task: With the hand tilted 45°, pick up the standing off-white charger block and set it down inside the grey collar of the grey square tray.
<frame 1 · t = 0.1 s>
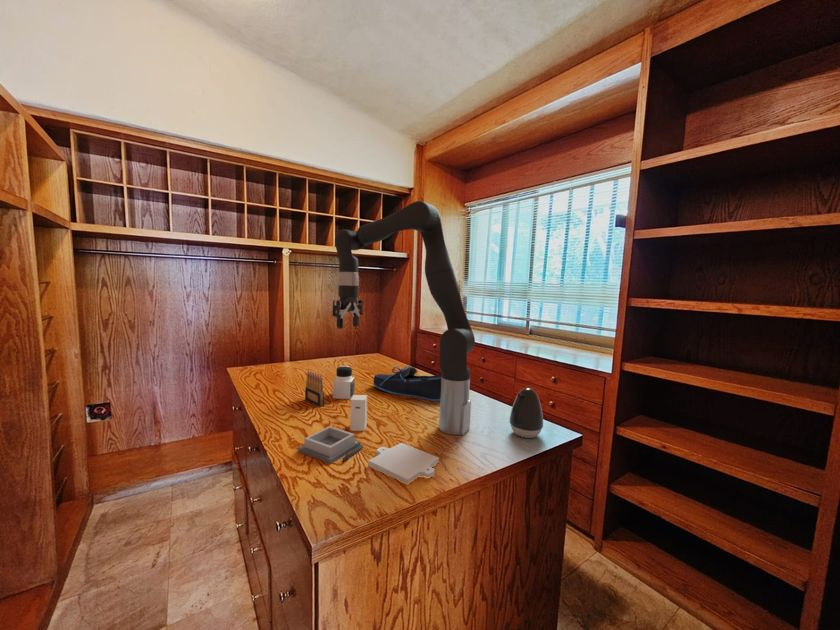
hand: (348, 327, 130), 29 cm above the table, tool pointing down, fingers open, 8 cm apart
moccasin: (409, 394, 146), on the table
charger: (358, 427, 110), on the table
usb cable: (353, 454, 93), on the table
mounting plate: (404, 466, 89), on the table
grey square tray: (329, 448, 96), on the table
pencil set: (314, 403, 131), on the table
medicine bottle: (343, 396, 139), on the table
dark grey egg shape: (525, 435, 109), on the table
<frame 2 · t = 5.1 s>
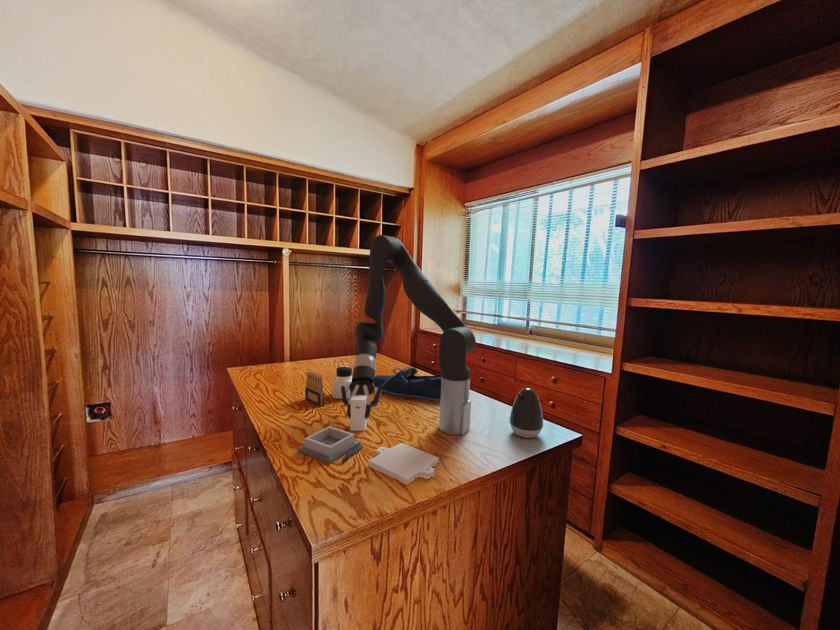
hand: (358, 417, 108), 4 cm above the table, tool tilted 45°, fingers closed on charger, 4 cm apart
charger: (358, 427, 110), on the table, touching gripper
when the fingers open (7 cm above the table, at t = 9.7 s): charger drops 2 cm, resting on grey square tray.
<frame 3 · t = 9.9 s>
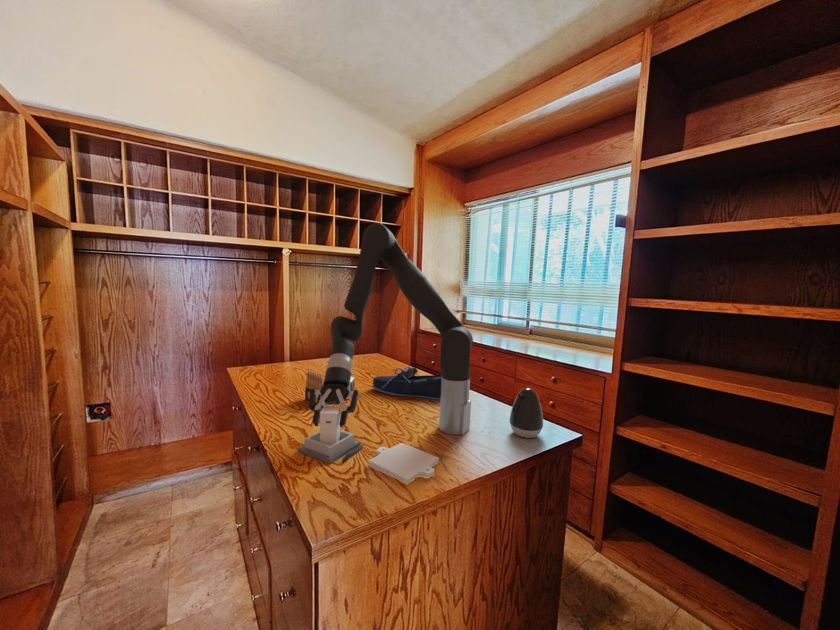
hand: (328, 425, 94), 7 cm above the table, tool tilted 45°, fingers open, 6 cm apart
charger: (330, 444, 96), point 1 cm above the table, touching grey square tray
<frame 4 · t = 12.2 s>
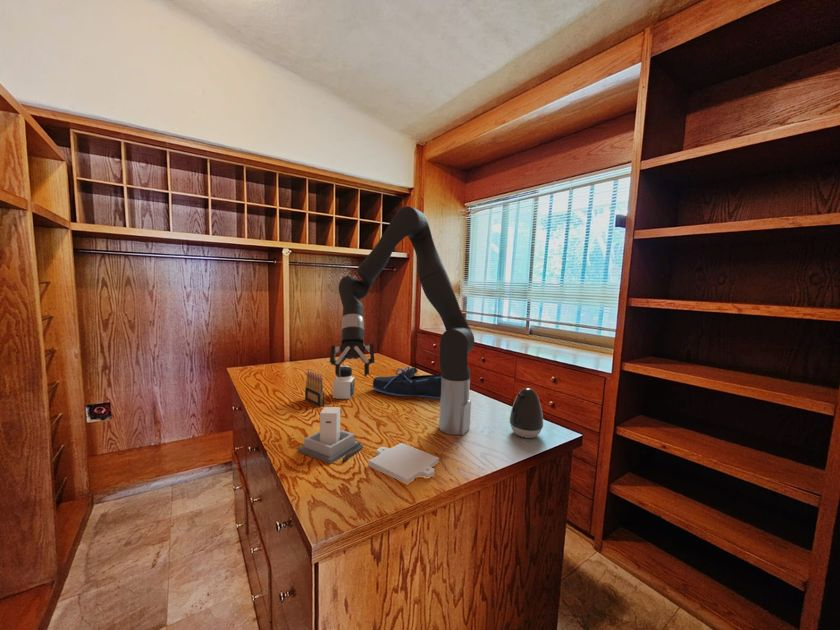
hand: (352, 376, 110), 16 cm above the table, tool tilted 30°, fingers open, 8 cm apart
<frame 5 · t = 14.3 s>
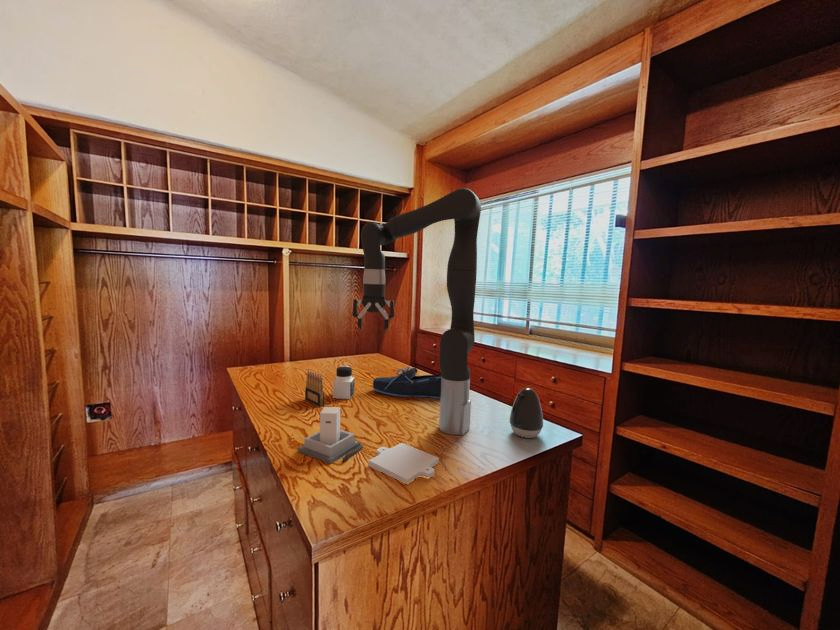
hand: (373, 329, 120), 30 cm above the table, tool pointing down, fingers open, 8 cm apart
at the end: charger 0.1 cm off-centre on the grey square tray, point 1.0 cm above the grey square tray's base; charger tilted 0°; the gripper is holding nothing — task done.
